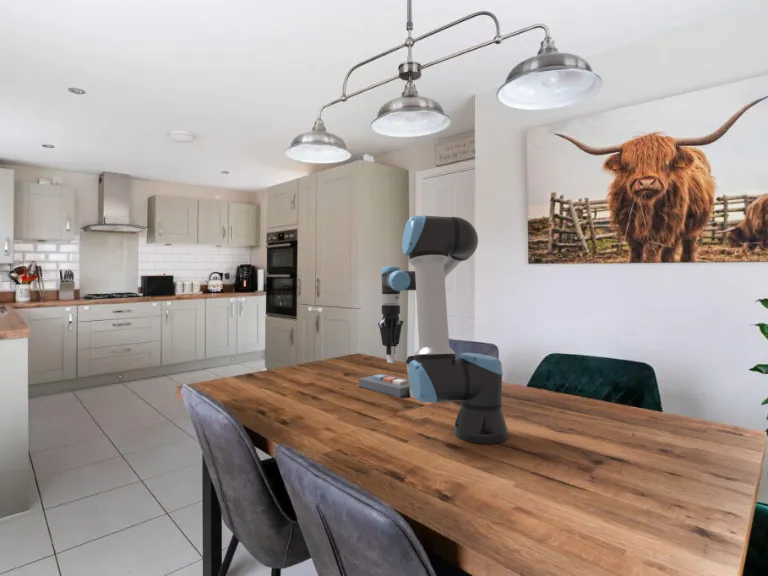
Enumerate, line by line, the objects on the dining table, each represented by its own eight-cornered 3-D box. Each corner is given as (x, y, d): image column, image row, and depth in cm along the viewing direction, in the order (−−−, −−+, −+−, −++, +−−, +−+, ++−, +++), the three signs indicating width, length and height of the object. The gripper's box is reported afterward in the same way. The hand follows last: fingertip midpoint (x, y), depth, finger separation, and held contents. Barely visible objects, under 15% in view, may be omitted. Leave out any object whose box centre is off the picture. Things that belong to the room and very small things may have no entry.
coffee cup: (432, 400, 160) (432, 360, 160) (405, 400, 160) (406, 359, 160) (430, 393, 170) (430, 355, 169) (405, 393, 170) (405, 355, 170)
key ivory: (400, 388, 169) (400, 382, 169) (392, 386, 172) (392, 380, 172) (406, 386, 172) (406, 380, 172) (399, 384, 175) (399, 378, 175)
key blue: (380, 383, 177) (380, 377, 177) (373, 381, 179) (373, 375, 179) (386, 381, 180) (386, 375, 180) (379, 380, 182) (379, 374, 182)
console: (400, 397, 163) (400, 388, 163) (358, 387, 179) (358, 378, 179) (421, 391, 172) (421, 382, 172) (380, 381, 188) (380, 373, 188)
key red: (389, 385, 173) (389, 379, 173) (382, 384, 176) (382, 378, 176) (396, 384, 176) (396, 378, 176) (389, 382, 179) (389, 376, 178)
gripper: (386, 305, 168) (386, 366, 168) (408, 304, 177) (408, 361, 178) (373, 304, 173) (372, 363, 173) (394, 303, 182) (394, 359, 183)
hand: (390, 362), depth 175 cm, fingers closed
